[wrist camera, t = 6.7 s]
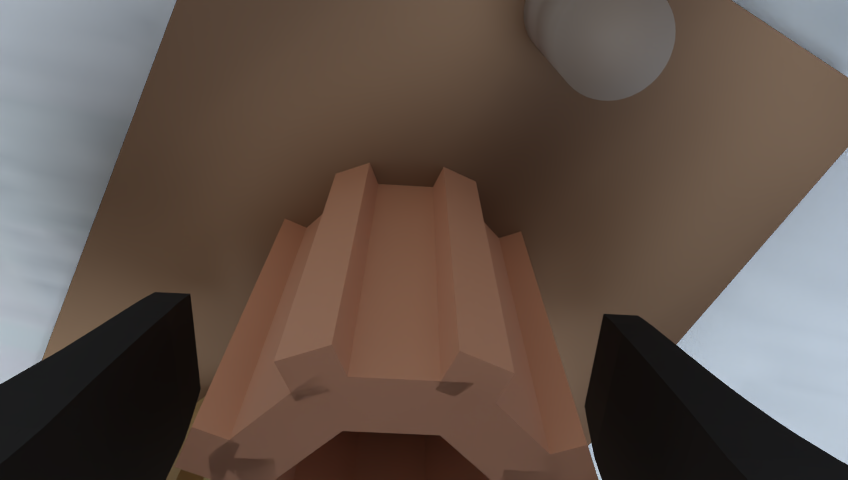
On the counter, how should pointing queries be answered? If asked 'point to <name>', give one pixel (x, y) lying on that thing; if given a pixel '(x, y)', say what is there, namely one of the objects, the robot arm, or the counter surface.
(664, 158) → the gear board
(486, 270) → the gear
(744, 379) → the counter surface
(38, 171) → the counter surface
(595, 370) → the robot arm
